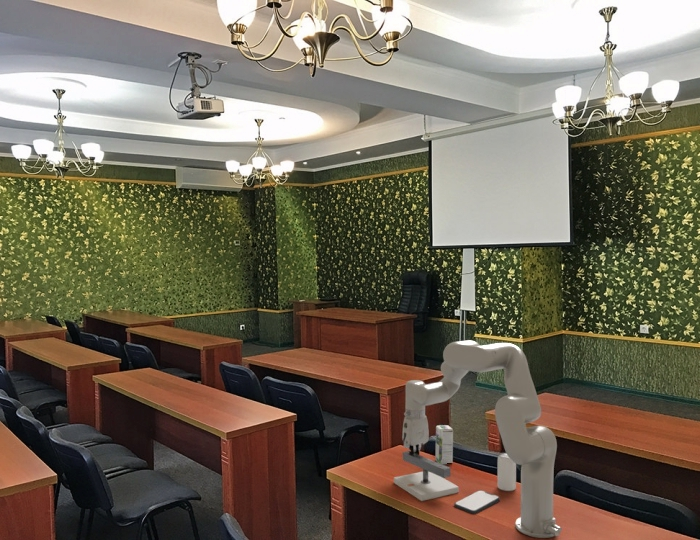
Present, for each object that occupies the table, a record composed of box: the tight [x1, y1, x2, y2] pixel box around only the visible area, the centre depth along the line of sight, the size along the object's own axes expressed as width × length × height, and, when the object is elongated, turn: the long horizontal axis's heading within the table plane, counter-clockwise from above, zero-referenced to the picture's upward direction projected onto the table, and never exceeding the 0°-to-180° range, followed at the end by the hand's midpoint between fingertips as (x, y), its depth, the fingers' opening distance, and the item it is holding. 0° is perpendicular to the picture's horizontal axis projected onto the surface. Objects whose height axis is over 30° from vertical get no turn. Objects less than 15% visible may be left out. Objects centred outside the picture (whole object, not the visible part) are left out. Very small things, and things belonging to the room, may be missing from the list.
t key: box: [402, 450, 451, 483], centre depth 206 cm, size 22×3×8 cm, turn 36°
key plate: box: [393, 471, 460, 502], centre depth 206 cm, size 18×16×2 cm
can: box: [497, 452, 517, 492], centre depth 206 cm, size 6×6×12 cm
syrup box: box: [435, 424, 454, 465], centre depth 233 cm, size 6×6×14 cm
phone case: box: [453, 489, 501, 515], centre depth 193 cm, size 9×2×16 cm
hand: (414, 460), depth 217 cm, fingers closed
